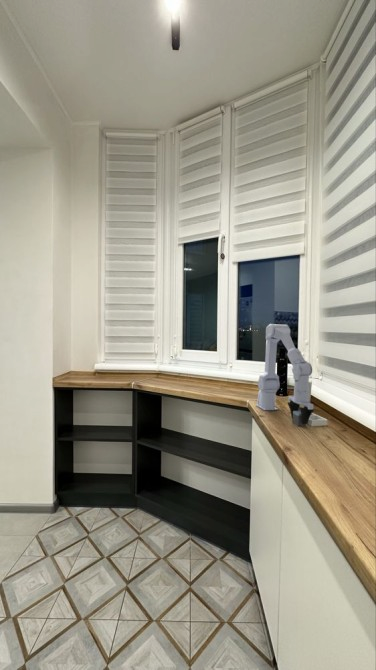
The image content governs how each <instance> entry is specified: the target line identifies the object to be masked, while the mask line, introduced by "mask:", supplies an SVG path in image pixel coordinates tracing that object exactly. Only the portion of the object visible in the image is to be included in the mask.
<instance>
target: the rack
mask: <svg viewBox="0 0 376 670" xmlns="http://www.w3.org/2000/svg"><path fill="white" fill-rule="evenodd" d="M306 425H308V426H311V427H320V426H323V425H324V426H328V419H327V418H324V417H322V416H320V415H318V414H316V413H314V412H312V413H311V415H310V417H309V420H308V423H307V424H306ZM324 426H323V427H324Z"/></svg>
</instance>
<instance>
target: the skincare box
mask: <svg viewBox="0 0 376 670" xmlns="http://www.w3.org/2000/svg"><path fill="white" fill-rule="evenodd" d="M312 386H313V381H312V380H309V383H308V400H309V402H310V403H311V396H312Z"/></svg>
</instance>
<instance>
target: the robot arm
mask: <svg viewBox="0 0 376 670" xmlns="http://www.w3.org/2000/svg"><path fill="white" fill-rule="evenodd" d="M292 339H293V338H292V337H291V328H290V326H289V325H288V324H278V323H277V324H276V323H275V324H274V323H269V324H268V325H267V326H266V327H265V340H266V342H265V360H264V361H265V363H264V372H262V373H261V374H259V378H258V381H257V387H258V389H259V390H258V393H257V403H256V404H255V406H256V407H258V408H260V409H262V410H263V411H278V410H279V408H277V407H276V395H277V393H276V392H278V390H279V389H280V386H281V385H280V376H279V375H278V374H277V373H276V366H277V350H278V349H277V348H278V343H279V342H280V341H281V342H282V344H283V346H284V347H285V348H286V350H287V354H286V355H287V357H288V360H289V362H290V363H291V366H292V368H291V373H292V374H293V380H294V383H293V384H294V385H293V395H289V396H288V402H287V406H288V407H289V411H290V415H291V419H292V420H293V411H298V409H299V406H300V405H301V406H304V407H303V408H300V411H301V416H302V424H306V425H308V424H307V423H308V420H309V417H310V415H311V413H314V404H312V403H311V401H310V402H309V400H308V383H309V381H310V380H309V378H310V376H311V375H312V374H313V366H312V364H311V363H310V362H308V361H306V360H305V357H304V356H303V354H302V352H301V351H300V349H298V348H296V346H295V344H294V342H293V340H292Z"/></svg>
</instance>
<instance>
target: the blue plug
mask: <svg viewBox="0 0 376 670" xmlns="http://www.w3.org/2000/svg"><path fill="white" fill-rule="evenodd" d="M292 424H293V425H294V426H296V427H306V426H307V424H302V416H301V411H293V419H292Z"/></svg>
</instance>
